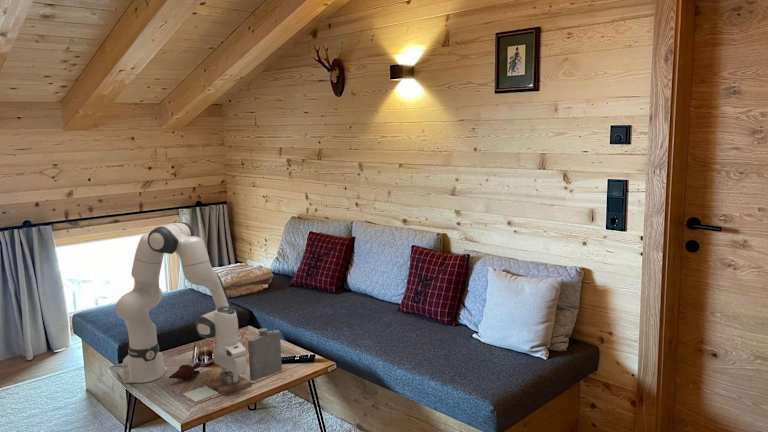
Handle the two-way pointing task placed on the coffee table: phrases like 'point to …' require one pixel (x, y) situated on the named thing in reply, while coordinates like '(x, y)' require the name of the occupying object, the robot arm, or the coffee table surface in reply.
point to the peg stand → (232, 388)
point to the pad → (200, 393)
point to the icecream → (186, 372)
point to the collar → (228, 378)
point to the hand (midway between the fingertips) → (230, 378)
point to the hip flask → (264, 354)
